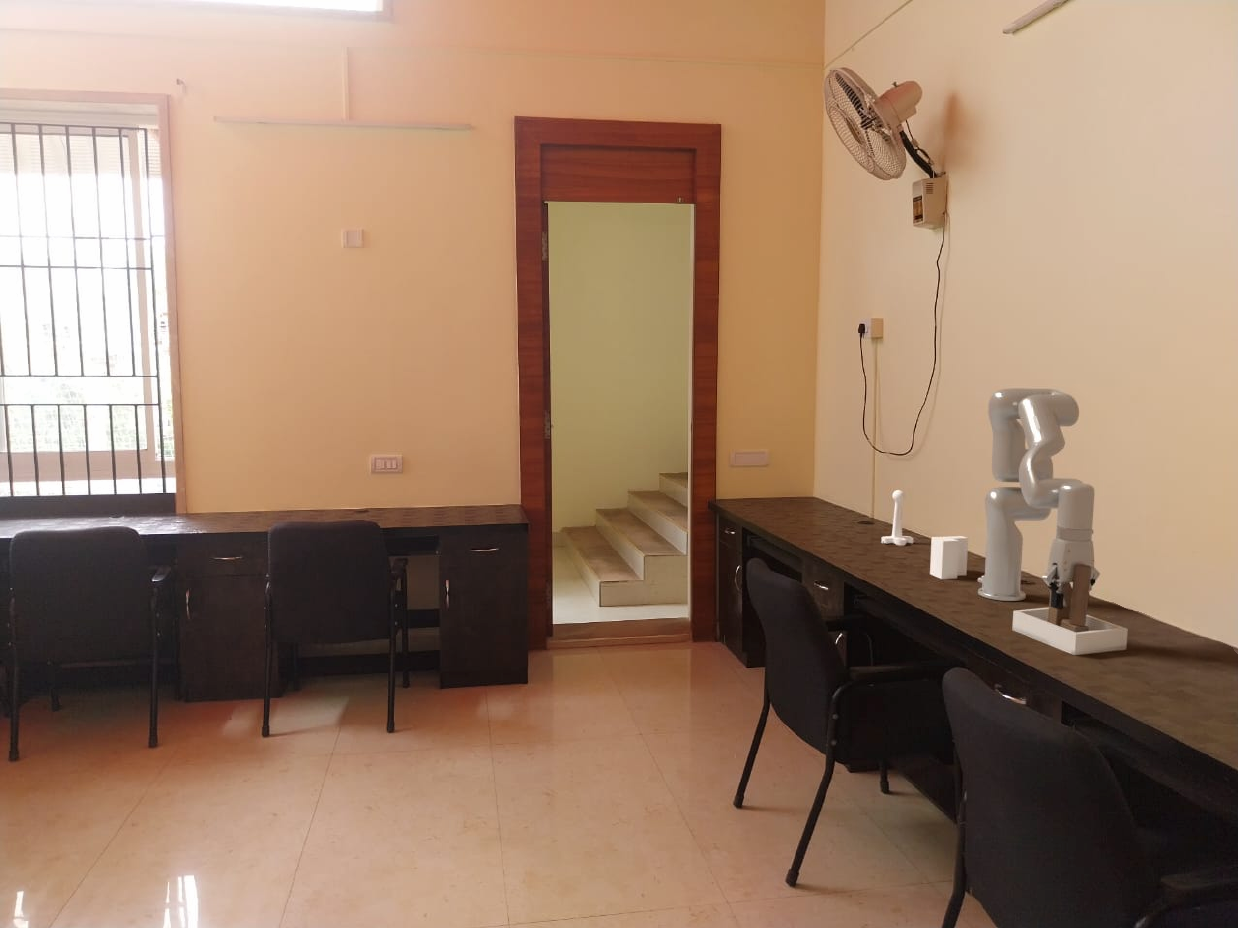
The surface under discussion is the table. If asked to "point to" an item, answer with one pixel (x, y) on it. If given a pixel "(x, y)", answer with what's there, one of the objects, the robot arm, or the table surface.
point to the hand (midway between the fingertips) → (1069, 606)
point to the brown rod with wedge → (1073, 602)
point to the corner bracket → (948, 556)
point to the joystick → (897, 523)
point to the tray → (1070, 633)
